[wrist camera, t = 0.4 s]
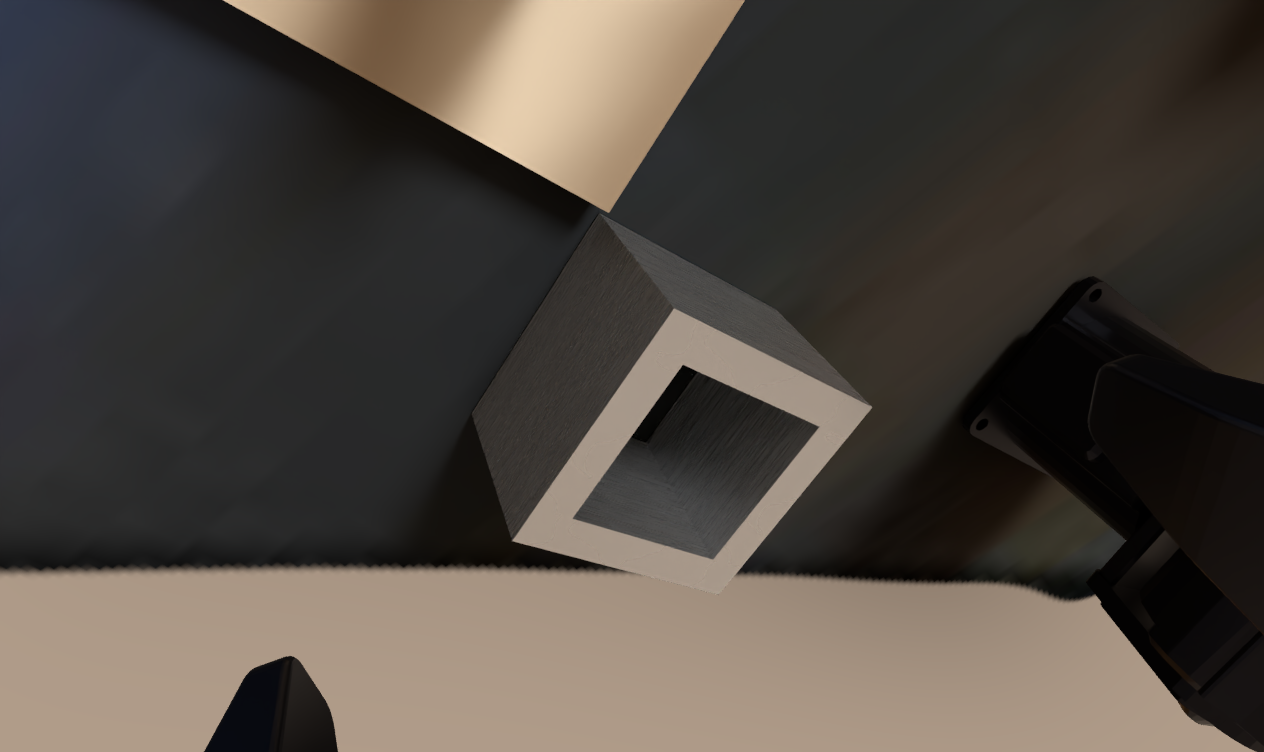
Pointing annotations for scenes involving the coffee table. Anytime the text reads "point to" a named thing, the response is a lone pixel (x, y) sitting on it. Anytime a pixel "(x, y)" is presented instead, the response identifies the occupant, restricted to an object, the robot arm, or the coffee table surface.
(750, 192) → the coffee table surface
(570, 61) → the post stand
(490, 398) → the white square hollow block
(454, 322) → the coffee table surface
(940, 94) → the coffee table surface
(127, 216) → the coffee table surface
